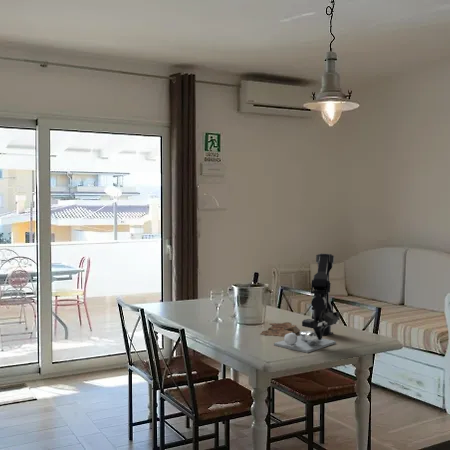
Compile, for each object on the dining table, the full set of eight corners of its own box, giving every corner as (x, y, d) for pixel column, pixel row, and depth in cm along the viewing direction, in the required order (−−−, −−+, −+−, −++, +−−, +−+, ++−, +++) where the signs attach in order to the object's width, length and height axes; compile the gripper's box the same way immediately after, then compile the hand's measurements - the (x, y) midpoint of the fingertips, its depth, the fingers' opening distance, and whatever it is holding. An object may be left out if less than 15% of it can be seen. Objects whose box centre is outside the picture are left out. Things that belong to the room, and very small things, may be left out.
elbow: (298, 336, 260) (298, 326, 260) (315, 337, 260) (315, 326, 260) (303, 345, 246) (303, 333, 245) (321, 345, 246) (321, 334, 245)
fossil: (283, 339, 263) (283, 329, 263) (255, 334, 273) (255, 325, 272) (303, 331, 279) (303, 322, 279) (275, 327, 288) (276, 318, 288)
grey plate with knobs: (303, 336, 267) (303, 323, 267) (335, 343, 255) (335, 329, 255) (273, 345, 250) (274, 330, 250) (307, 352, 238) (307, 337, 238)
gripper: (321, 311, 235) (321, 347, 236) (347, 305, 248) (347, 339, 249) (301, 307, 244) (301, 342, 244) (327, 301, 256) (327, 335, 257)
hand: (319, 339), depth 248 cm, fingers closed
